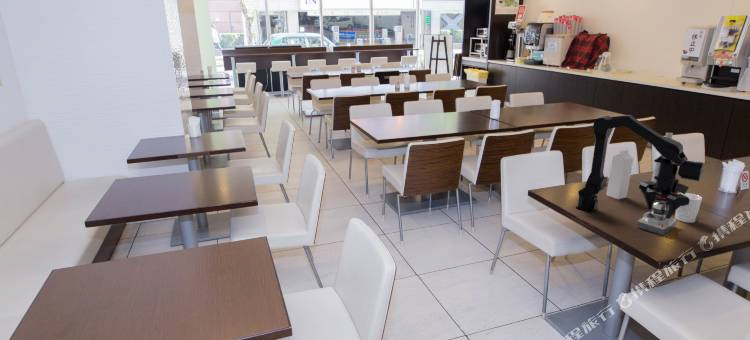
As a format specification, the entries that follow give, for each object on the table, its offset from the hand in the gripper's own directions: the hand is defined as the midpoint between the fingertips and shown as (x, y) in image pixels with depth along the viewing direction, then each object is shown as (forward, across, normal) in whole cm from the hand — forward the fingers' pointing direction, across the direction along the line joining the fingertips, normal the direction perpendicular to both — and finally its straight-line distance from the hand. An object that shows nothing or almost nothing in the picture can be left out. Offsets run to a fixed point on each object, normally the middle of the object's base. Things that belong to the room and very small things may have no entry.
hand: (658, 213), depth 168 cm
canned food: (+6, +19, -18) cm, 27 cm away
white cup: (+6, +5, -17) cm, 18 cm away
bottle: (+6, +36, -30) cm, 47 cm away
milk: (+6, +33, -6) cm, 34 cm away
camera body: (+6, 0, 0) cm, 6 cm away
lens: (+2, 0, 0) cm, 2 cm away
